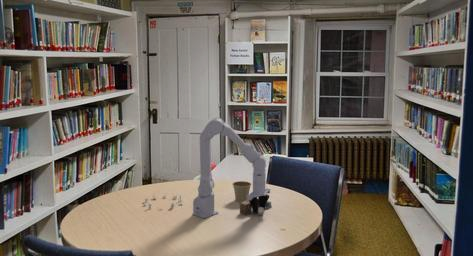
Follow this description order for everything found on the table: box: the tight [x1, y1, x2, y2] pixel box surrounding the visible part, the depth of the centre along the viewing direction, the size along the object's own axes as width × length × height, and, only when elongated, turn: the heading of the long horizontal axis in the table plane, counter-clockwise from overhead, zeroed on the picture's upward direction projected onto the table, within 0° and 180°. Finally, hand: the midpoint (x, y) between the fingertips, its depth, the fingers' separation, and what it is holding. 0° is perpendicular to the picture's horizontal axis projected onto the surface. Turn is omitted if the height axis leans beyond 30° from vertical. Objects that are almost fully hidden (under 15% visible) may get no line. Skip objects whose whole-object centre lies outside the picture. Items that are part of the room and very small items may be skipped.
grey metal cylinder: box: [248, 204, 265, 217], centre depth 199 cm, size 10×4×4 cm, turn 50°
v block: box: [265, 200, 273, 210], centre depth 208 cm, size 7×8×3 cm
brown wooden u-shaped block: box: [239, 200, 250, 216], centre depth 201 cm, size 9×4×5 cm, turn 139°
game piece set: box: [143, 192, 183, 211], centre depth 213 cm, size 19×20×4 cm
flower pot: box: [232, 180, 252, 203], centre depth 217 cm, size 9×9×9 cm
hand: (258, 211), depth 197 cm, fingers open, 4 cm apart
